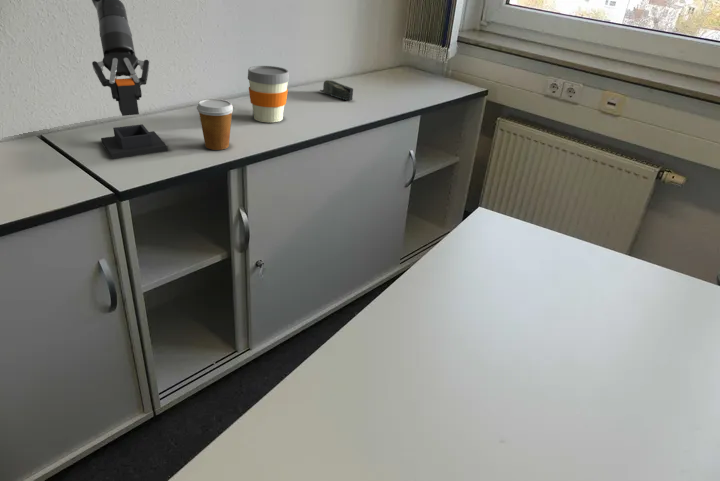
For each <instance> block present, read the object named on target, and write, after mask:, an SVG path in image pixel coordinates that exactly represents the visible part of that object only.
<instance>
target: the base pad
mask: <svg viewBox="0 0 720 481" xmlns="http://www.w3.org/2000/svg"><path fill="white" fill-rule="evenodd" d="M112 130H113V135H114V136H113V135H112V136H105V137H101V138H100V141H101V144H102V146H103V147H104V150H106V152H107V154H108V155H109V157H110V158H111V160H114V159H115V160H116V159H117V160H118V159H122V158H123V159H124V158H129V157H130V158H131V157H136V156H142V155H144V156H145V155H149V154H156V153H163V152H168V145H167V144H166V143H165V142H164V141H163V139H162V138H161V137H160V136H159V135H158V133H156V131H155V130H152V131H149V129H148V128H146V126H145V125H144V124H143V123H142V124H141V123H140V124H133V125H125V126H117V127H116V126H115V127H113V128H112Z"/></svg>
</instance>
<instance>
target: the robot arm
mask: <svg viewBox="0 0 720 481" xmlns="http://www.w3.org/2000/svg"><path fill="white" fill-rule="evenodd" d="M91 3H92V5H93V6H94V8H95V10H96V14H97V20H98V27H99V28H98V31H99V38H100V43H101V49H102V55H103V58H102V60H101V61H95V60H94V61H92V62H91V64H92V70H93V71H94V73H95V74H96V76H97V78H98V80H99V82H100V84H101V86H102V87H109V89H110V93H111V98H112V99H113V100H115V102H118V101H119V98H118V92H117V87H116V84H115V79H118V77H122V76H124V77H129V78H131V79H132V80H133V82H134V84H135V90H136V97H137V101H140V98H142V97H143V95H142V94H143V93H142V88H141V86H143V85H144V86H146V85H147V83H148V76H149V70H150V60H149V59H144V60H141V59H139V58H138V57H137V56H136V51H135V47H134V41H133V34H132V30H131V27H130V24H129V21H128V14H127V10H126V7H125V5H124V3H123V1H122V0H91ZM138 66H139V68H140V70H141V72H142V73H141V77H138V75H137V72H136V69H137V67H138ZM104 67H105V69H107V70H108V71H109V72H110V75H109V78H106V76H105V74H104Z"/></svg>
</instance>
